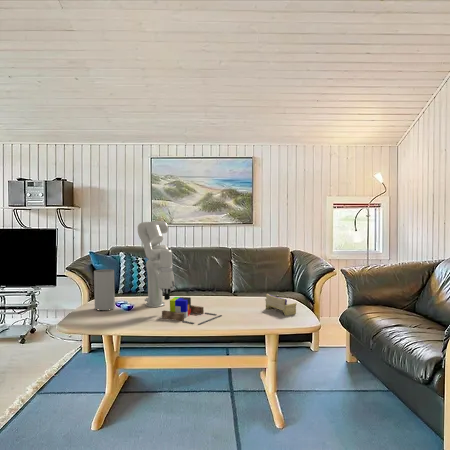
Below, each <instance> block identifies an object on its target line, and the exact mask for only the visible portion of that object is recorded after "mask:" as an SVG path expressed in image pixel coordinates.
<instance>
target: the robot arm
mask: <svg viewBox="0 0 450 450" xmlns="http://www.w3.org/2000/svg"><path fill="white" fill-rule="evenodd" d="M168 231H169V225H168V223H167V222H166V221H164V220H160V221H156V220H155V221H143V222H140V223H139V224H138V225H137V234H138V236H139V239H140V241H141V243H142V245H143V250H144V254H145V257H146V258H147V260H146V263H145V267H146V272H147V294H148V295H147V297H145V298H144V302H146V303H145V306H146V307H149V308H159V307H164V306H165V305H166V302H164V301H167V300H169V301H170V300H171V298H170V297H171V295H170V294H171V292H172V291H174V290H175V285H176V284H175V276H174V275H175V273H174V271H173V266H174V265H173V252H172V250H171V249H169V248H168V246H167V245H164V244H161V243H162V242H163V240H164V236H163V234H167V233H168ZM163 297H164V300H163Z"/></svg>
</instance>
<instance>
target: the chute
mask: <svg viewBox="0 0 450 450" xmlns="http://www.w3.org/2000/svg"><path fill="white" fill-rule="evenodd" d="M191 314H199V315H203V314H205V312H204V306H201V305H199V306H197V305H192V304H191ZM161 319H167V320H172V321H178V322H182V321H185V318H184V314H183V313H177V312H171V311H170V310H162V311H161Z"/></svg>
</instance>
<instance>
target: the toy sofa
mask: <svg viewBox="0 0 450 450" xmlns="http://www.w3.org/2000/svg"><path fill="white" fill-rule="evenodd" d="M264 301H265V310H269V309H277V310H280V311H282V312H283V314H284V316H290V315H296V314H297V302H293V303H287V302H288V299H286V298H282V297H278V296H275V295H272V294H269V293H266V294H265V299H264Z"/></svg>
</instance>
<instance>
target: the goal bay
mask: <svg viewBox="0 0 450 450" xmlns="http://www.w3.org/2000/svg"><path fill="white" fill-rule="evenodd" d="M204 315H212V316H214V317H212V318H209V319H207V320H205V321H201V322H199V323H197V325H198V326H199V325H202V324H206V323H208V322H210V321H213V320H215V319H217V318H220V317H222V316H223V315H222V314H219V315H217V313H211V312H204ZM181 322H182V323H187V324H192V325H195V322H192V321H187V320H184V321H181Z"/></svg>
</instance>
